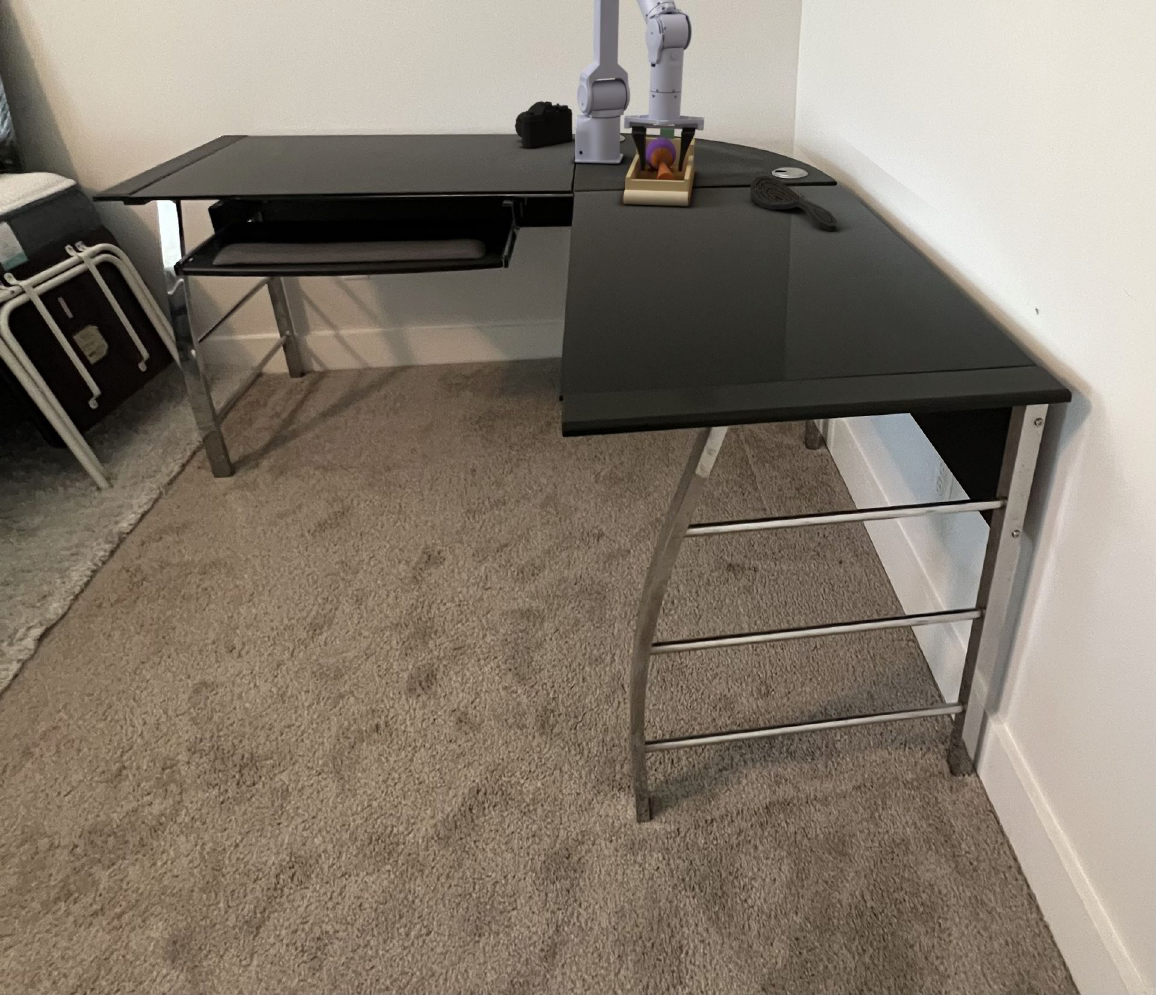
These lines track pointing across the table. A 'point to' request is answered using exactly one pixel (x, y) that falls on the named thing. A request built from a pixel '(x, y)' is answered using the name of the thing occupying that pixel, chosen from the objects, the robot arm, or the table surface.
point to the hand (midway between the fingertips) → (661, 170)
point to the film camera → (544, 125)
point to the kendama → (661, 157)
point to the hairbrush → (788, 200)
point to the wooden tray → (661, 192)
